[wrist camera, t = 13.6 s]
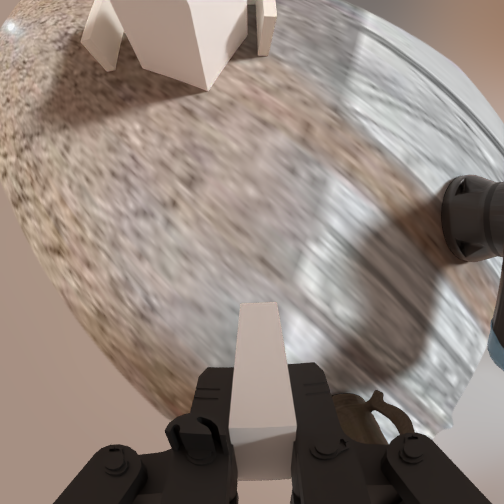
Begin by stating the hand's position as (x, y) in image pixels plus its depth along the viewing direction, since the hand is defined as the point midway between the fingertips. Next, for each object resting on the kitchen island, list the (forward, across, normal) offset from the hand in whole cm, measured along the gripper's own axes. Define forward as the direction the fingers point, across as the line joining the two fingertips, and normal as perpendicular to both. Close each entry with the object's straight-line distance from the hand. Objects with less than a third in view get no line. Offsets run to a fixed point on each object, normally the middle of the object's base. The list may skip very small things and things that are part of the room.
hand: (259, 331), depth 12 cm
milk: (+30, +8, -27) cm, 41 cm away
